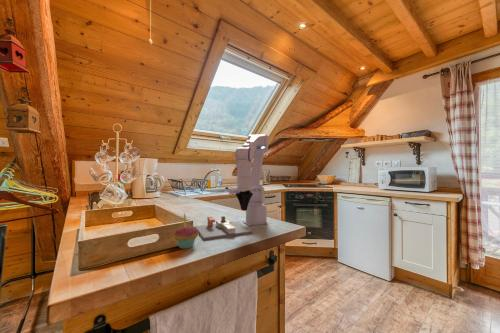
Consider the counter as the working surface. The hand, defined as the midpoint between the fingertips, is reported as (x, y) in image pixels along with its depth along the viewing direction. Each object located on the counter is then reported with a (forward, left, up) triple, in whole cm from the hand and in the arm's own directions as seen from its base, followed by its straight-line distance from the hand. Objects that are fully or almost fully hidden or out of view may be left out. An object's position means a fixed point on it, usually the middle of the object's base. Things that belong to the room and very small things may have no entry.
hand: (244, 210), depth 94 cm
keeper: (+11, -10, -10) cm, 18 cm away
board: (+7, -6, -10) cm, 13 cm away
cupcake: (+24, +5, -10) cm, 26 cm away
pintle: (+6, -9, -10) cm, 14 cm away
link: (+6, -5, -8) cm, 11 cm away
